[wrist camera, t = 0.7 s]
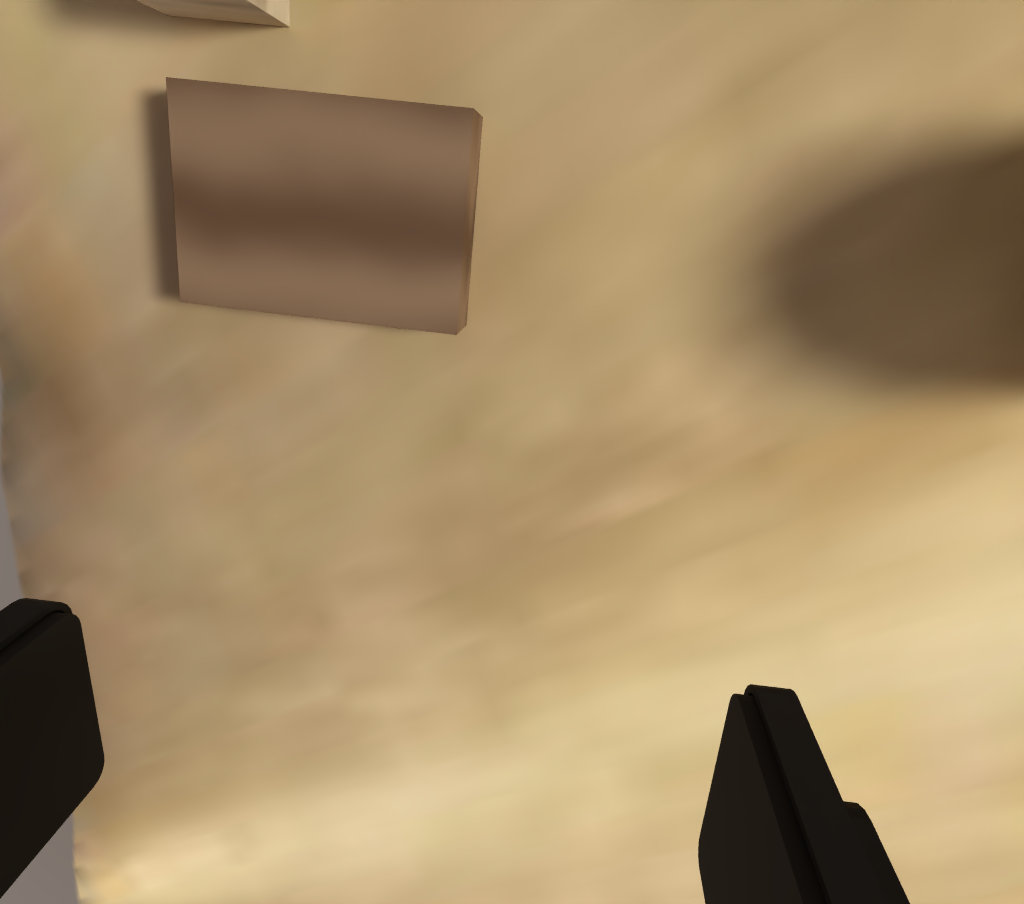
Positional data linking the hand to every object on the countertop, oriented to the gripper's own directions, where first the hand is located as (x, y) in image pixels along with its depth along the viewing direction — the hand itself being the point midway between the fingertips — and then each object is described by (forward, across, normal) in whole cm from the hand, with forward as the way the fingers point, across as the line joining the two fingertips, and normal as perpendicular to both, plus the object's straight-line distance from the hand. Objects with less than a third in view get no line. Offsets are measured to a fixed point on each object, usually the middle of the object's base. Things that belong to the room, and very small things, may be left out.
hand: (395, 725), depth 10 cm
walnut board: (+28, +10, -6) cm, 31 cm away
